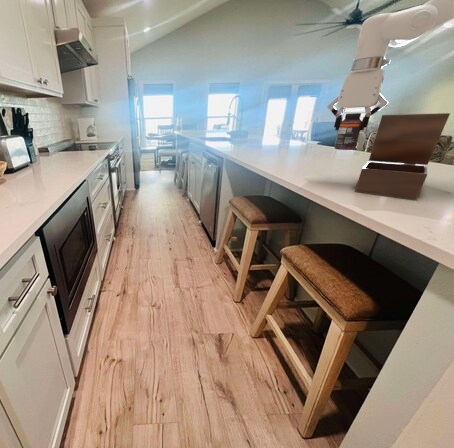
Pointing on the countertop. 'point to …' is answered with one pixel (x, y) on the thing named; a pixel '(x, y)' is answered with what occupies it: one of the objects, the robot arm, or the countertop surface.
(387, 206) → the countertop surface
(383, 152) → the lid
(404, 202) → the countertop surface
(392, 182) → the chest
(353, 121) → the supplement bottle
